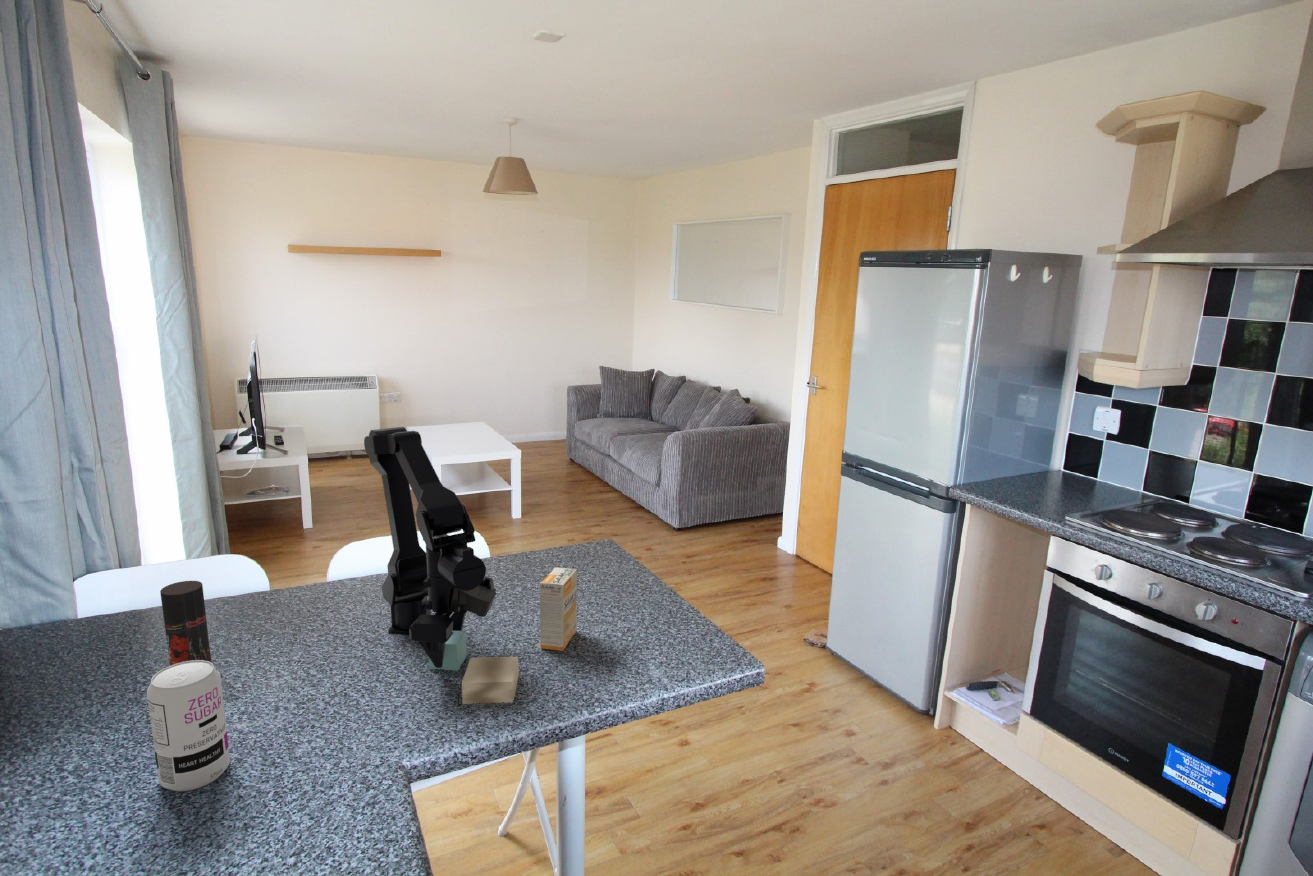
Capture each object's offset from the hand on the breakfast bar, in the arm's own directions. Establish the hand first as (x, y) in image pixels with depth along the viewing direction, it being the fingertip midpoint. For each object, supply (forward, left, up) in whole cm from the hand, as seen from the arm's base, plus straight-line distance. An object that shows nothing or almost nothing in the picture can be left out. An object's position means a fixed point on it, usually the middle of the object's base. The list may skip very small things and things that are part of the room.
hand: (448, 654), depth 128 cm
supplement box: (+18, +10, -2) cm, 21 cm away
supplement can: (-24, -32, -2) cm, 40 cm away
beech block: (+10, -8, -2) cm, 13 cm away
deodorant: (-43, -6, -2) cm, 43 cm away
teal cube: (0, 0, -2) cm, 2 cm away
